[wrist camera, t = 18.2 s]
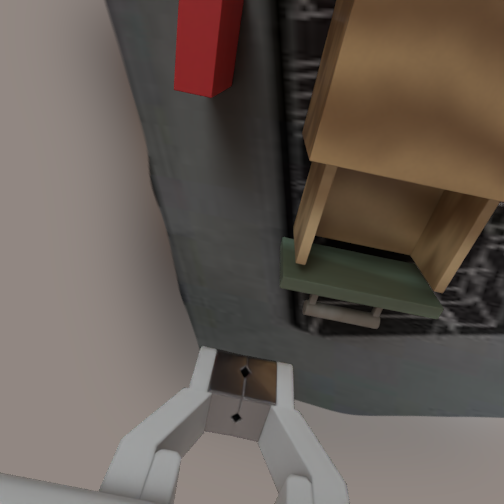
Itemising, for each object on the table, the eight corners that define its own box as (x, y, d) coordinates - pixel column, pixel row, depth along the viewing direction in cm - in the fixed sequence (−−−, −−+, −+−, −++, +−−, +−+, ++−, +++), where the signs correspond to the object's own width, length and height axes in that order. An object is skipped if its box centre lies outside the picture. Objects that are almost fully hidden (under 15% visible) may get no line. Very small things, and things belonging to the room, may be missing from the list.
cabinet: (467, 169, 28) (532, 208, 21) (301, 133, 28) (309, 161, 21) (598, -75, 20) (777, -149, 13) (369, -130, 20) (421, -240, 13)
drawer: (393, 304, 35) (415, 353, 29) (270, 279, 35) (268, 324, 29) (490, 123, 26) (552, 143, 20) (323, 86, 25) (335, 95, 19)
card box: (231, 86, 27) (211, 97, 19) (205, 80, 26) (173, 90, 19) (245, -14, 23) (228, -49, 16) (215, -20, 23) (181, -59, 15)
